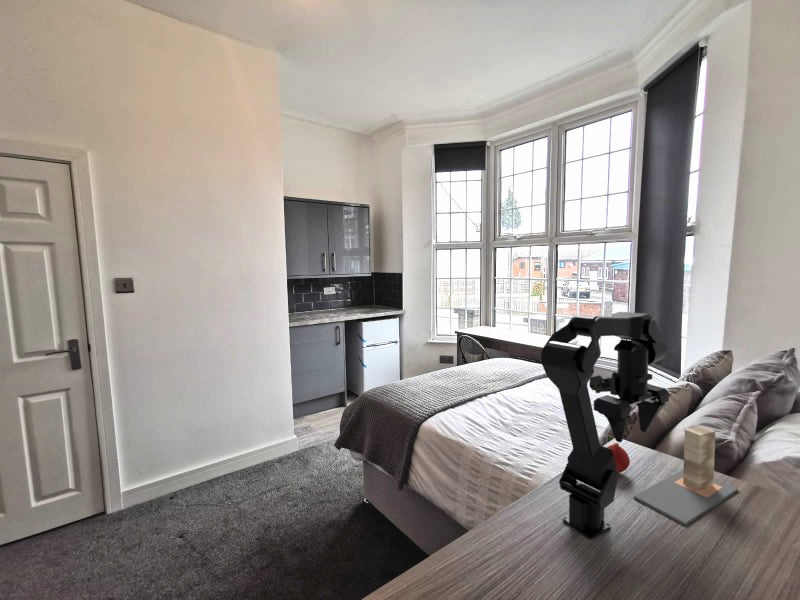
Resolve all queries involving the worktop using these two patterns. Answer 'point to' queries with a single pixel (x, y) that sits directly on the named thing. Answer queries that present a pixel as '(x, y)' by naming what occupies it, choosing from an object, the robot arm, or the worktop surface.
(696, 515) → the mat
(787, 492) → the worktop surface
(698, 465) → the cream block
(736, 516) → the worktop surface
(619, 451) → the onion
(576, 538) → the worktop surface
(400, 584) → the worktop surface
